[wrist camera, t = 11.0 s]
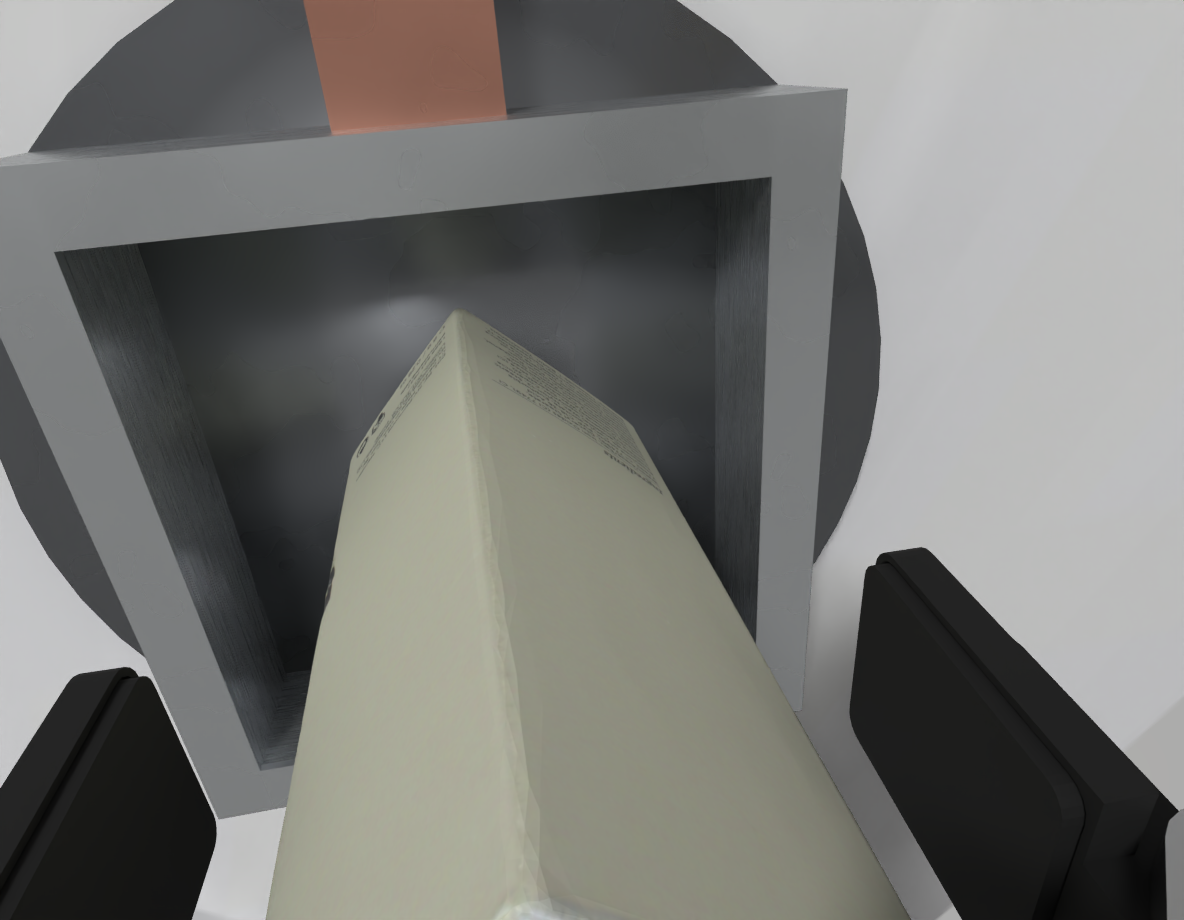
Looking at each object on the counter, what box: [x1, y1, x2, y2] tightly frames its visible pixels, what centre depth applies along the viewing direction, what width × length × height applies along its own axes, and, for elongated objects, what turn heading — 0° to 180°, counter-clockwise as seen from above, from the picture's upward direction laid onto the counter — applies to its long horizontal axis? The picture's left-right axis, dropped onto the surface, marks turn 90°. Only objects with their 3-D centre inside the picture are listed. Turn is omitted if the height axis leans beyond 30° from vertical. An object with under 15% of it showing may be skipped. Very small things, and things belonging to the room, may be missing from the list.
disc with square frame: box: [0, 0, 881, 819], centre depth 15 cm, size 19×22×4 cm
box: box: [266, 308, 911, 920], centre depth 12 cm, size 5×4×13 cm
